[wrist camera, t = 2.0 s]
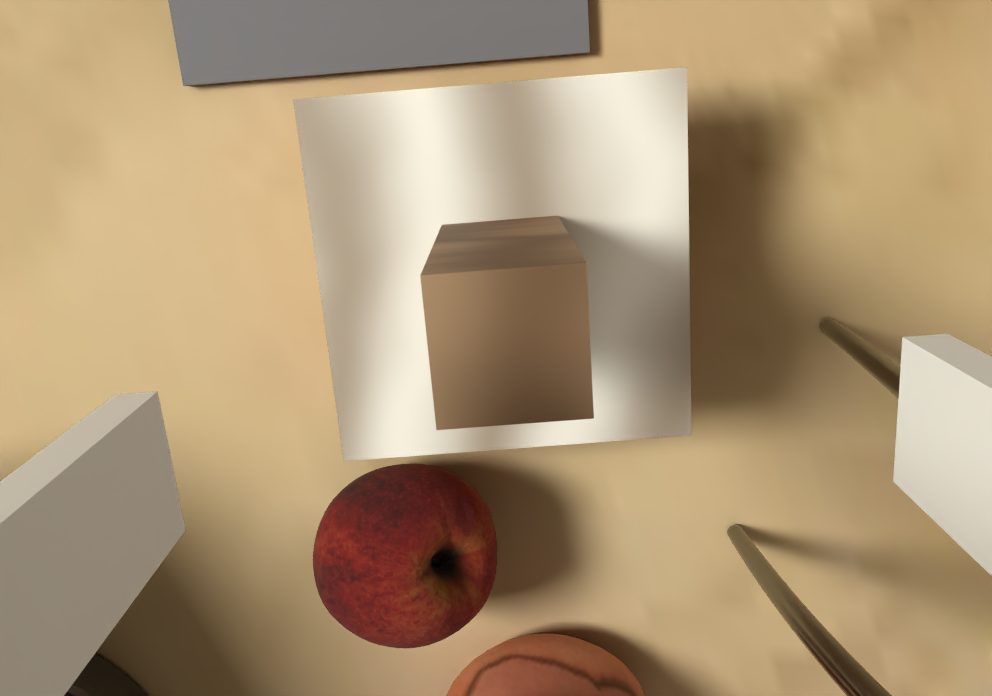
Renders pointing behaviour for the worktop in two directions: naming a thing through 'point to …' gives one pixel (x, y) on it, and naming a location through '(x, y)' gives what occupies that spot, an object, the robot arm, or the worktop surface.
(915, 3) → the worktop surface
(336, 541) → the apple
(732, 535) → the juicer
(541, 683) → the potted flower
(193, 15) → the mat
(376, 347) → the lid
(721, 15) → the worktop surface
